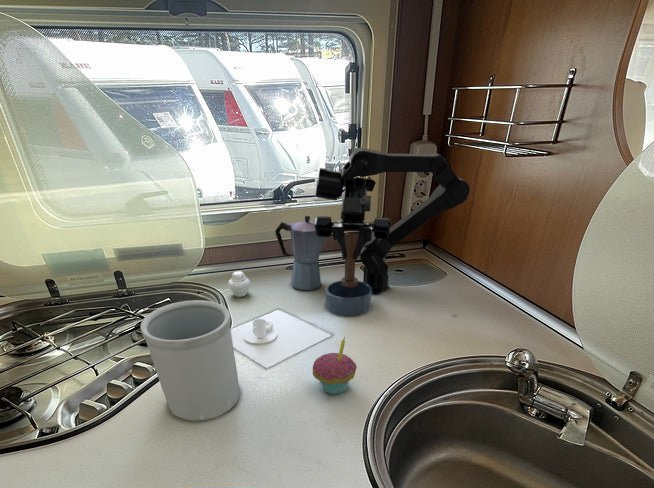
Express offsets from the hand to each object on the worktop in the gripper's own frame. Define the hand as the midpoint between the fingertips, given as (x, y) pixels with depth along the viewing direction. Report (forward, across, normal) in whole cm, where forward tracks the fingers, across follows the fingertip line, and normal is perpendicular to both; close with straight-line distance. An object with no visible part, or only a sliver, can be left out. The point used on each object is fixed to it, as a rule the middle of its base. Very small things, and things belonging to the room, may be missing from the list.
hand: (349, 259), depth 105 cm
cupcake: (+35, +1, -16) cm, 38 cm away
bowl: (+8, 0, +11) cm, 14 cm away
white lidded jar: (+6, -32, +14) cm, 35 cm away
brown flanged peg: (+4, 0, +6) cm, 7 cm away
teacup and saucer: (+22, -16, -2) cm, 27 cm away
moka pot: (0, -14, +20) cm, 24 cm away
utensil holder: (+40, -24, -20) cm, 51 cm away
